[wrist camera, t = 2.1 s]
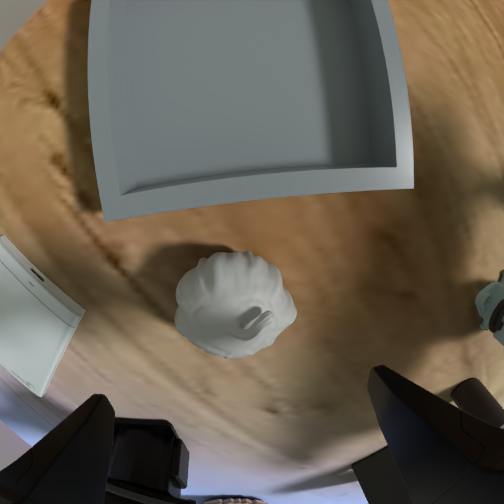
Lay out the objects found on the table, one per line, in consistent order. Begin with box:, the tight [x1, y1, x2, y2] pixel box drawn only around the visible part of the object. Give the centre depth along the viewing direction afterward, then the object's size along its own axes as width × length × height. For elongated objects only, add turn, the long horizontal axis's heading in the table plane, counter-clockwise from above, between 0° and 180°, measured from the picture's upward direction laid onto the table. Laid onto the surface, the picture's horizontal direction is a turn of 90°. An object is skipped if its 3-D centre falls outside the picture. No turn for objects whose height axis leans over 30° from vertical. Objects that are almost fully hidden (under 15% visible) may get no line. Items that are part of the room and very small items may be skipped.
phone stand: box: [352, 446, 413, 504], centre depth 21 cm, size 9×6×12 cm, turn 34°
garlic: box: [175, 251, 297, 359], centre depth 13 cm, size 6×5×5 cm
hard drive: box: [0, 235, 86, 397], centre depth 16 cm, size 2×8×12 cm
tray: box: [88, 0, 414, 222], centre depth 10 cm, size 14×14×3 cm
